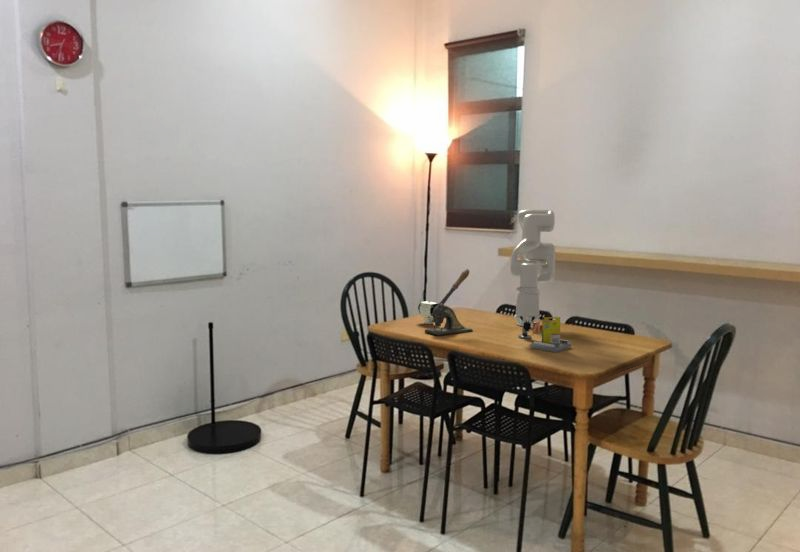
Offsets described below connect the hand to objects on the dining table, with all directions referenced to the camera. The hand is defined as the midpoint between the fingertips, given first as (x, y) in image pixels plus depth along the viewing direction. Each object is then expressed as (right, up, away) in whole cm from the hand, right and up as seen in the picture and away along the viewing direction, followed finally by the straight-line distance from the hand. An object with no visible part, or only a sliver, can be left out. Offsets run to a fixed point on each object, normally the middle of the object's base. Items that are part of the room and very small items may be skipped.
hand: (527, 330), depth 294 cm
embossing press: (-33, -3, +21) cm, 39 cm away
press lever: (+2, 0, +5) cm, 5 cm away
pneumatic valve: (-43, 0, +41) cm, 59 cm away
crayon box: (+8, -5, -10) cm, 14 cm away
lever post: (+1, -4, +10) cm, 11 cm away
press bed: (+8, -7, -11) cm, 15 cm away
